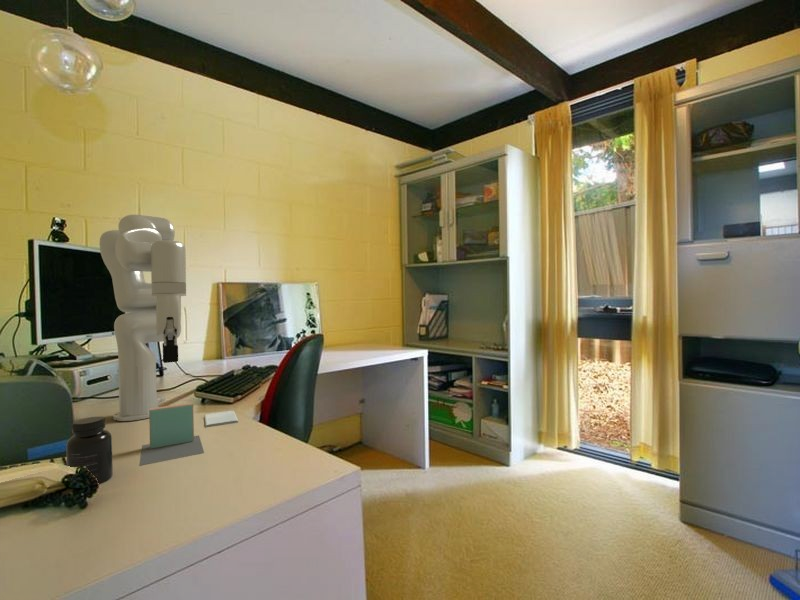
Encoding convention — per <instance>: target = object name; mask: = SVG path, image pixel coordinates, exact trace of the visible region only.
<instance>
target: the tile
mask: <svg viewBox="0 0 800 600" xmlns="http://www.w3.org/2000/svg"><path fill="white" fill-rule="evenodd" d="M148 419H149V421H148V422H149V424H148V425H149V444H150V449H154V448H159V447H165V446H170V445H176V444H181V443H187V442H192V441H194V436H195V428H194V427H195V426H194V425H195V424H194V423H195V422H194V403H193V402H186V403H181V404H173V405H165V406H158V407H157V408H150V409H149V418H148Z"/></svg>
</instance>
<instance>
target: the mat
mask: <svg viewBox="0 0 800 600" xmlns="http://www.w3.org/2000/svg"><path fill="white" fill-rule="evenodd" d="M201 454H205V451H204V448H203V444H202V441H201V437H200V434H199V435H194V441H192V442H187V443H181V444H176V445H170V446H165V447H159V448H154V449H150V443H147V444H143V445H141V454H140V461H139V466H140V467H141V466H146V465H151V464H156V463H160V462H161V463H163V462H165V461H167V462H168V461H172V460H176V459H181V458H182V459H183V458H187V457H192V456H196V455H201Z"/></svg>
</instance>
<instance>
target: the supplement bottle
mask: <svg viewBox="0 0 800 600" xmlns="http://www.w3.org/2000/svg"><path fill="white" fill-rule="evenodd" d="M105 421H106V418H105V417H104V416H91V417H85V418H82V419H81V418H80V419H78V420H76V421H73V422H72V431H71V432H72V434H73V435H72V436H70V437H69V438H68V440H67V441H66V444H65V448H66V449H65V450H66V451H65V453H66V466H67V465H68V466H70V467H79V466H86V467H87V468H88V470H89V471H90V473H92V474H93V475H94V476H95V477H96V478H97V480H98V483H99V485H102V484H104V483H106V482H108V481H110V480H111V479H112V478H113V473H114V470H113V467H114V466H113V465H114V463H113V441H112V440H113V437H112V433H111V432H110V431H109V430H107V429H105V428H106V423H105Z"/></svg>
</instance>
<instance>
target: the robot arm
mask: <svg viewBox="0 0 800 600" xmlns="http://www.w3.org/2000/svg"><path fill="white" fill-rule="evenodd" d="M117 227H118V229H112V230H107V231H104V232H103V233H102V234H101V235H100V237H99V251H100V255H101V259H102V260H103V263H104V265H105V266H106V269H107V270H108V271H109V274H110V276H111V279H112V280H111V281H112V286H113V294H114V299H115V302H116V306H117V308H118V310H119V311H121V312H122V313H123V314H121V315H118V317H116V319H115V321H114V324H113V329H114V335H115V340H116V344H117V356H118V402H119V403H118V405H119V406H118V407H119V409H118V410H119V411H117V412H116V413H114V414H113V415H112V417H113V419H112V420H113V421H116V420H117V422H133V421H139V420H145V419H149V409H150V408H157V407H159V404H160V403H162V402H165V400H166V397H165V396H164V395H160V396H157V358H156V355H155V353H154V352H153V350H151V348H149V346H148V345H146V344H149V343H150V344H151V343H157V342H158V343H159V342H163V343H162V363H163V364H166V363H167V364H169V363H177V362H178V361H179V345H178V338H179V337H180V335H181V334H182V324H181V323H182V322H181V321H182V297H186V296H187V277H186V276H187V274H186V273H187V271H186V269H187V267H186V266H187V265H186V259H187V258H186V256H187V255H186V246H185V244H184V243H183V242H181V241H177V240H175V233H176V232H175V230H176V229H175V227H174V225H173V223H172V222H171V221H170V220H169V219H168V218H165V217H158V216H149V215H143V214H128V215H125V216H124V217H121V219H120V220H119V222H118V225H117ZM144 272H145V273H146V272H149V273H150V275H151V276H150V277H151V280H150V281H151V282H150V283H149V282H146V281H145V275H144Z"/></svg>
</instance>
